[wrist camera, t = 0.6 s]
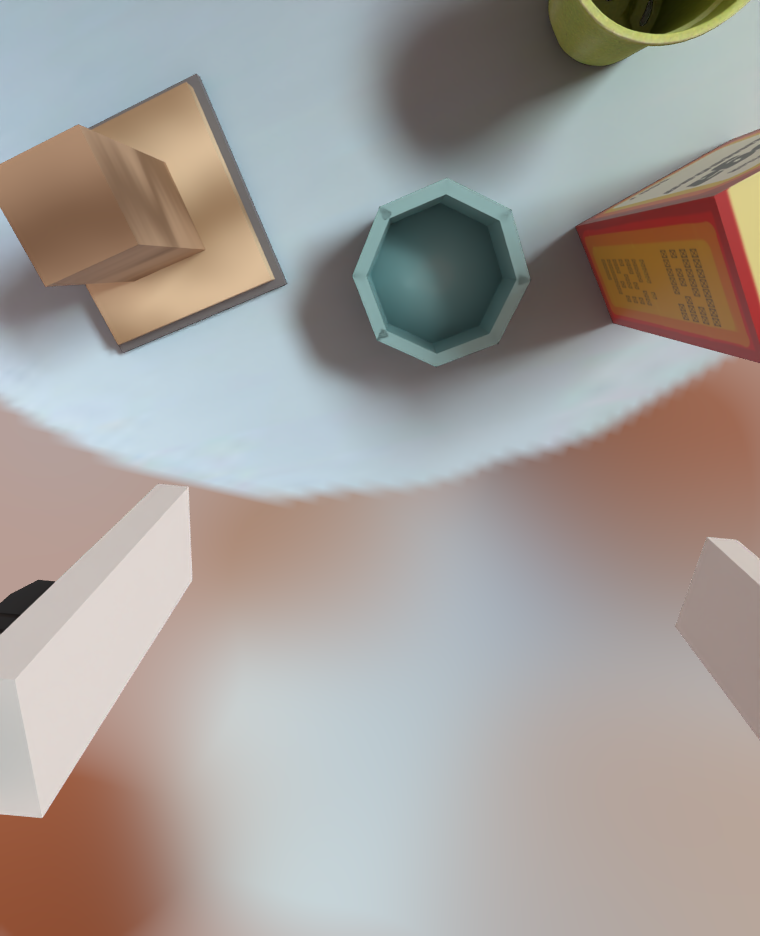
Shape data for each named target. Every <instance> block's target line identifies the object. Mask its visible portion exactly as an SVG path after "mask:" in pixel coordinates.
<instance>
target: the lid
mask: <svg viewBox="0 0 760 936" xmlns="http://www.w3.org/2000/svg"><path fill="white" fill-rule="evenodd" d="M0 208H1V209H2V211H3V213H4V215H5V216H6V218H7V220H8V222H9V223H10V225H11V227H12V229H13V231H14V232H15V234H16V236H17V238H18V239H19V241H20V243H21V245H22V246H23V248H24V250H25V252H26V253H27V255H28V257H29V259H30V261H31V262H32V264H33V266H34V268H35V269H36V271H37V273H38V275H39V276H40V278H41V280H42V282H43V283H44V285H45V287H51V286H67V285H83V284H85V285H86V287H87V289H88V291H89V292H90V294H91V296H92V298H93V300H94V302H95V303H96V305H97V307H98V309H99V311H100V313H101V314H102V316H103V318H104V320H105V322H106V324H107V326H108V327H109V329H110V331H111V333H112V335H113V337H114V338H115V340H116V342H117V344H118V345H119V344H123V343H126V342H128V341H131V340H133V339H136V338H138V337H140V336H143V335H145V334H147V333H150V332H152V331H154V330H157V329H159V328H161V327H164V326H166V325H168V324H171V323H173V322H176V321H178V320H180V319H183V318H185V317H187V316H190V315H192V314H194V313H197V312H199V311H201V310H204V309H206V308H208V307H211V306H213V305H216V304H218V303H220V302H223V301H225V300H227V299H230V298H232V297H234V296H237V295H239V294H241V293H244V292H246V291H248V290H251V289H253V288H255V287H258V286H260V285H263V284H265V283H267V282H270V281H272V280H274V279H275V278H274V276H273V273H272V271H271V269H270V266H269V264H268V262H267V259H266V257H265V255H264V252H263V250H262V248H261V245H260V243H259V241H258V238H257V236H256V234H255V231H254V229H253V227H252V224H251V222H250V220H249V217H248V215H247V213H246V210H245V208H244V206H243V203H242V201H241V199H240V196H239V194H238V192H237V189H236V187H235V185H234V182H233V180H232V178H231V175H230V173H229V171H228V168H227V166H226V164H225V162H224V159H223V157H222V155H221V152H220V150H219V148H218V145H217V143H216V141H215V138H214V136H213V134H212V131H211V129H210V127H209V124H208V122H207V120H206V117H205V115H204V113H203V110H202V108H201V106H200V103H199V101H198V99H197V96H196V94H195V92H194V89H193V87H192V86H190V85H189V84H188V83H187V82H185V83H183V84H181V85H179V86H177V87H175V88H173V89H171V90H169V91H167V92H165V93H163V94H161V95H159V96H157V97H155V98H153V99H151V100H149V101H147V102H145V103H143V104H141V105H139V106H137V107H135V108H133V109H131V110H129V111H127V112H125V113H123V114H121V115H119V116H117V117H115V118H113V119H111V120H109V121H107V122H105V123H103V124H101V125H100V126H98V127H96V128H94V129H92V130H90V129H88V128H86V127H83V126H81V125H79V124H78V125H76V126H74V127H72V128H70V129H68V130H66V131H64V132H62V133H60V134H58V135H57V136H55V137H53V138H51V139H49V140H47V141H45V142H43V143H41V144H39V145H37V146H35V147H33V148H31V149H29V150H27V151H25V152H23V153H21V154H19V155H17V156H15V157H13V158H11V159H9V160H7V161H5V162H3V163H1V164H0Z"/></svg>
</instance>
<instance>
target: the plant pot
mask: <svg viewBox="0 0 760 936" xmlns="http://www.w3.org/2000/svg"><path fill="white" fill-rule="evenodd" d="M749 1H750V0H653V5H652V11H651V15H650V17H649V19H648V21H647V23H646V24H645V25H644V26H640V25H639V22H640V20H641V18H642V16H643V14H644V12H645V9H646V7H647V3H648V2H649V0H611V1H606V0H549V3H548V11H549V18H550V22H551V25H552V28H553V31H554V33H555V36H556V38H557V40H558V42H559V45H560V47H561V48H562V49H563V50H564V51H565V52H566V53H567V54H568V55H569V56H570V57H571V58H573V59H575V60H576V61H578V62H581V63H583V64H587V65H593V66H604V65H610V64H613V63H616V62H618V61H621V60H623V59H625V58H627V57H629V56H630V55H632V54H634V53H636V52H638V51H640V50H642V49H643V48H645V47H647V46H664V45H671V44H676V43H681V42H684V41H688V40H690V39H693V38H696V37H698V36H700V35H703V34H705V33H707V32H708V31H710V30H712V29H714V28H716V27H717V26H719V25H720V24H722V23H723V22H725V21H726V20H728V19H729V18H730V17H732V16H733V15H734V14H736V13H737V12H738V11H739V10H740V9H742V8H743V7H744V6H745V5H746V4H747V3H748V2H749Z"/></svg>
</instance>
